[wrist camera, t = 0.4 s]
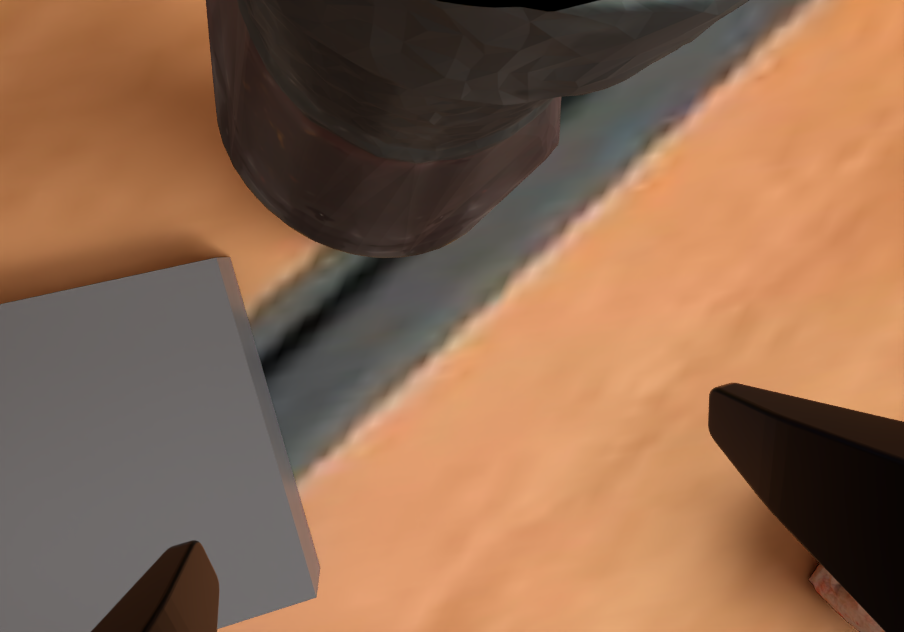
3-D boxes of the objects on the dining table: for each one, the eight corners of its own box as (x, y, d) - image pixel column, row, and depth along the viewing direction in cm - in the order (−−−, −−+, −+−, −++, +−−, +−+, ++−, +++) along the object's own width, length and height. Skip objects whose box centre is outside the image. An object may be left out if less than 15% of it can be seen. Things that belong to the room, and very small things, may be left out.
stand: (320, 567, 23) (316, 597, 21) (-27, 674, 21) (-67, 719, 19) (230, 256, 20) (216, 257, 18) (-170, 343, 18) (-233, 354, 16)
